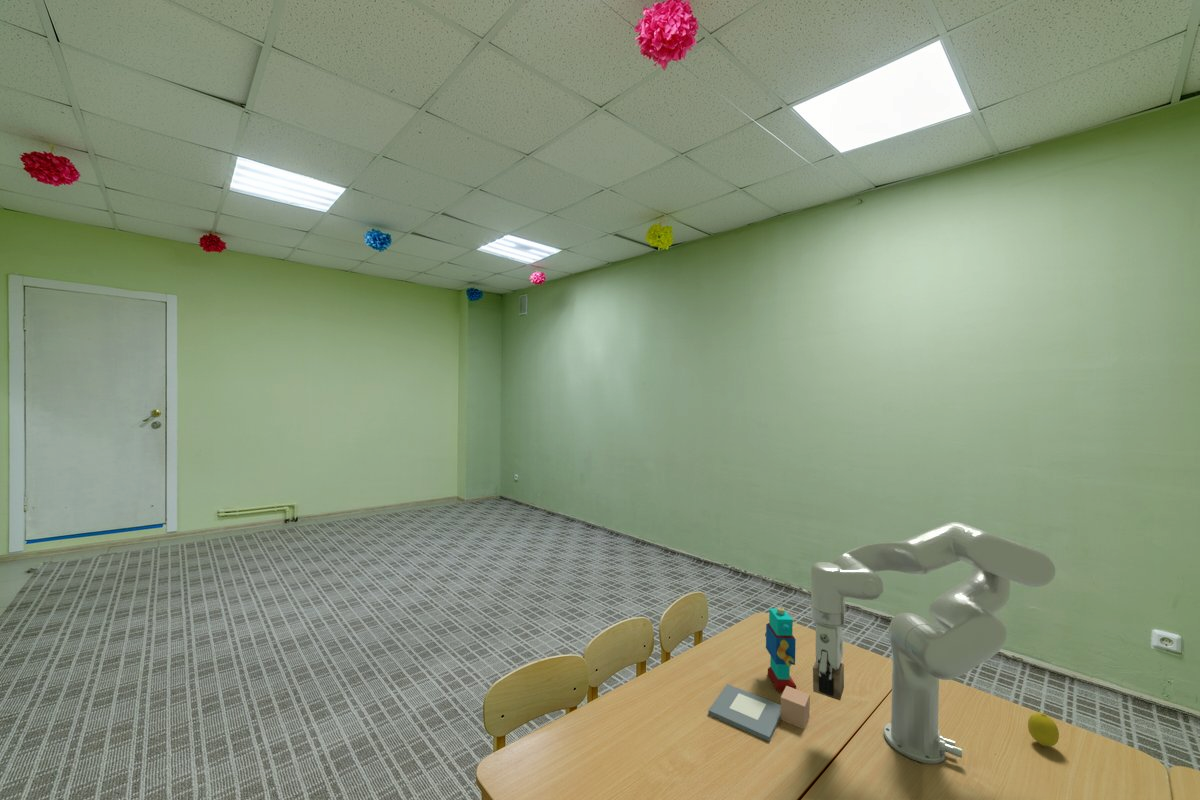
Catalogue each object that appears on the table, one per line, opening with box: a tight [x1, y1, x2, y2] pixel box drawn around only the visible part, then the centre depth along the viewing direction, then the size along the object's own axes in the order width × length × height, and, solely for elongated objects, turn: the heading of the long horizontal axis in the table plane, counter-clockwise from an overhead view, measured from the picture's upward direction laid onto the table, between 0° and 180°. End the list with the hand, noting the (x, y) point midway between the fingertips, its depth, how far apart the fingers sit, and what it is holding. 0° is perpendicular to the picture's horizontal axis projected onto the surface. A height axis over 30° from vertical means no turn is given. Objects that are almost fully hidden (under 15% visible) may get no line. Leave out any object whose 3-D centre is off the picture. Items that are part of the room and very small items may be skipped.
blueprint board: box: [707, 683, 781, 742], centre depth 123 cm, size 16×14×1 cm
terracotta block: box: [780, 686, 811, 730], centre depth 121 cm, size 6×6×6 cm
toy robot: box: [764, 599, 797, 692], centre depth 136 cm, size 12×6×25 cm, turn 179°
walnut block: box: [812, 660, 845, 701], centre depth 113 cm, size 6×6×6 cm
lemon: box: [1027, 712, 1060, 747], centre depth 112 cm, size 6×6×8 cm
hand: (828, 685), depth 113 cm, fingers closed on walnut block, 6 cm apart
